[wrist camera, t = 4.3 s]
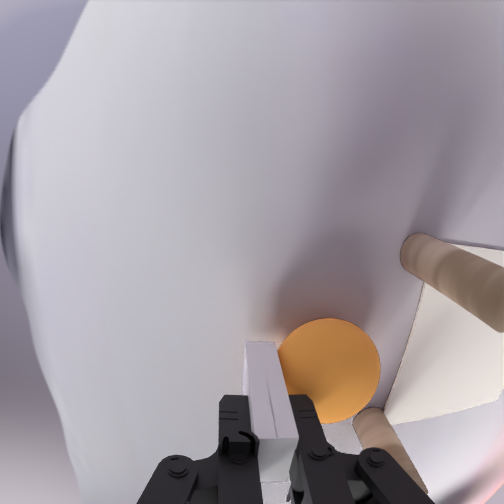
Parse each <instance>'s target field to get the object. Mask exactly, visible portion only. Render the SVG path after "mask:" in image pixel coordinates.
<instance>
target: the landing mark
mask: <svg viewBox="0 0 504 504" xmlns="http://www.w3.org/2000/svg"><path fill="white" fill-rule="evenodd" d="M449 244H450V243H449ZM451 245H453V246H456V247H458V248H461V249H463V250H465V251H468V252H470V253H472V254H475V255H477V256H479V257H482V258H484V259H486V260H489V261H491V262H493V263H495V264H498V265H500V266H502V267H504V251H502V250H495V249H488V248H481V247H473V246H466V245H458V244H451ZM503 388H504V332H503V333H499V332H497V331H495V330H494V329H492V328H491V327H490V326H488V325H487V324H485V323H484V322H483V321H481V320H480V319H478V318H477V317H475V316H474V315H473V314H471V313H470V312H468V311H467V310H465V309H464V308H462V307H461V306H460V305H458V304H457V303H455V302H454V301H452V300H451V299H449V298H448V297H446V296H445V295H443V294H442V293H440V292H439V291H437V290H436V289H434V288H433V287H431V286H430V285H428V284H427V283H425V282H424V285H423V289H422V293H421V297H420V301H419V305H418V309H417V312H416V316H415V320H414V323H413V327H412V330H411V333H410V337H409V340H408V343H407V346H406V349H405V352H404V355H403V358H402V361H401V364H400V367H399V370H398V373H397V376H396V378H395V381H394V384H393V387H392V389H391V392H390V394H389V397H388V400H387V402H386V405H385V407H384V410H383V413H384V414H385V416H386V418H387V419H388V421H389V423H390V425H395V424H401V423H407V422H412V421H418V420H423V419H428V418H432V417H437V416H442V415H446V414H450V413H454V412H458V411H462V410H466V409H470V408H473V407H477V406H480V405H484V404H487V403H490V402H494V401H497V400H498V398H499V396H500V394H501V392H502V390H503Z"/></svg>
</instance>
